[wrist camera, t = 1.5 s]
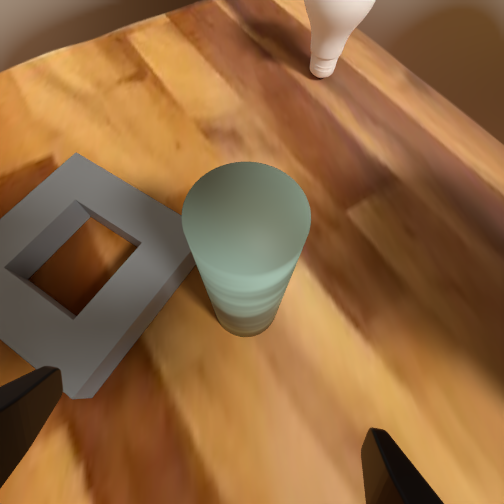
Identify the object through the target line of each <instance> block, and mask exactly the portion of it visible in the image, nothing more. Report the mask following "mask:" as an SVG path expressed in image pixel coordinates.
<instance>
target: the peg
mask: <svg viewBox="0 0 504 504" xmlns="http://www.w3.org/2000/svg"><path fill="white" fill-rule="evenodd" d="M310 225H311V212H310V206H309V203H308V200H307V198H306V195H305V194H304V192H303V190H302V189H301V188H300V186H299V185H298V184H297V183H296V182H295V181H294V180H293V179H292V178H291V177H290V176H288V175H287V174H286V173H284V172H282V171H281V170H279V169H277V168H274V167H272V166H269V165H266V164H262V163H256V162H236V163H230V164H226V165H223V166H220V167H218V168H215V169H213V170H211V171H210V172H208V173H206V174H205V175H204V176H202V177H201V178H200V179H199V180H198V181H197V182H196V183H195V184H194V185H193V187H192V188H191V189H190V191H189V193H188V194H187V196H186V199H185V201H184V204H183V208H182V227H183V231H184V234H185V237H186V239H187V242H188V244H189V247H190V249H191V252H192V254H193V257H194V260H195V262H196V265H197V267H198V270H199V272H200V275H201V278H202V280H203V283H204V285H205V288H206V290H207V293H208V295H209V298H210V301H211V303H212V306H213V308H214V311H215V313H216V316H217V319H218V321H219V322H220V324H221V325H222V327H223V328H224V329H225V330H227V331H228V332H230V333H231V334H234V335H236V336H240V337H251V336H255V335H258V334H260V333H262V332H263V331H265V330H266V329H267V328H268V327H269V326H270V325H271V323H272V322H273V320H274V318H275V315H276V313H277V310H278V308H279V305H280V303H281V300H282V298H283V295H284V293H285V290H286V288H287V285H288V283H289V281H290V278H291V276H292V273H293V271H294V268H295V266H296V263H297V261H298V258H299V256H300V253H301V251H302V248H303V246H304V244H305V241H306V239H307V236H308V233H309V230H310Z"/></svg>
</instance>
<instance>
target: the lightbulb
mask: <svg viewBox="0 0 504 504" xmlns="http://www.w3.org/2000/svg"><path fill="white" fill-rule="evenodd" d="M304 2H305V6H306V10H307V14H308V17H309V20H310V25H311V46H310V48H311V52H312V54H311V60H310V71H311V73H312V74H313V75H315V76H316V77H318V78H325V77H328V76H330V75H331V74H332V73H333V71H334V68H335V65H336V62H337V60H338V57H339V56H340V55H341V53H342V51H343V48H344V45H345V43H346V41H347V39H348V37H349V35H350V34H351V32H352V31H353V30H354V29H355V28H356V26H357V25H358V24H359V23H360V22H361V21H362V20H363V19H364V17H365V16H366V15H367V14H368V12H369V11H370V9H371V8H372V6H373V4H374V2H375V0H304Z"/></svg>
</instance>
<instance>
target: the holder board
mask: <svg viewBox="0 0 504 504" xmlns="http://www.w3.org/2000/svg"><path fill="white" fill-rule="evenodd" d="M90 217H92V218H94V219H95V220H97V221H98V222H100V223H101V224H103V225H104V226H106V227H107V228H109V229H110V230H112V231H113V232H115V233H117V234H118V235H120V236H121V237H123V238H124V239H126V240H127V241H129V242H130V243H132V244H133V245H135V246H137V247H138V248H137V249H136V250H135V251H134V252H133V253H132V255H131V256H130V257H129V258H128V259H127V260H126V261H125V262H124V264H123V265H122V266H121V267H120V268H119V269H118V270H117V272H116V273H115V274H114V275H113V276H112V277H111V278H110V279H109V281H108V282H107V283H106V284H105V285H104V286H103V287H102V289H101V290H100V291H99V292H98V293H97V294H96V295H95V296H94V298H93V299H92V300H91V301H90V302H89V303H88V304H87V305H86V307H85V308H84V309H83V310H82V311H81V312H80V313H79V315H78V316H76V315H74V314H73V313H72V312H70V311H69V310H68V309H66V308H65V307H64V306H62V305H61V304H60V303H58V302H57V301H56V300H54V299H53V298H52V297H50V296H49V295H48V294H46V293H45V292H44V291H42V290H41V289H40V288H38V287H37V286H36V285H34V284H33V283H32V282H30V281H29V280H28V279H29V278H30V277H31V276H32V275H33V274H34V273H35V272H36V271H37V270H38V269H39V268H40V267H41V266H42V265H43V264H44V263H45V262H46V261H47V260H48V259H49V258H50V257H51V256H52V255H53V254H54V253H55V252H56V251H57V250H58V249H59V248H60V247H61V246H62V245H63V244H64V243H65V242H66V241H67V240H68V239H69V238H70V237H71V236H72V235H73V234H74V233H75V232H76V231H77V230H78V229H79V228H80V227H81V226H82V225H83V224H84V223H85V222H86V221H87V220H88V219H89V218H90ZM195 265H196V262H195V260H194V257H193V254H192V252H191V249H190V247H189V244H188V242H187V239H186V237H185V234H184V231H183V227H182V216H181V215H180V214H178V213H176V212H175V211H173V210H171V209H170V208H168V207H166V206H165V205H163V204H161V203H160V202H158V201H156V200H155V199H153V198H151V197H150V196H148V195H146V194H145V193H143V192H141V191H140V190H138V189H136V188H135V187H133V186H131V185H130V184H128V183H126V182H125V181H123V180H121V179H120V178H118V177H116V176H115V175H113V174H111V173H110V172H108V171H106V170H105V169H103V168H101V167H100V166H98V165H96V164H95V163H93V162H91V161H90V160H88V159H86V158H85V157H83V156H81V155H80V154H78V153H75V154H74V155H73V156H71V157H70V158H69V159H68V160H67V161H66V162H65V163H63V164H62V165H61V166H60V167H59V168H58V169H57V170H55V171H54V172H53V173H52V174H51V175H50V176H49V177H48V178H46V179H45V180H44V181H43V182H42V183H41V184H40V185H38V186H37V187H36V188H35V189H34V190H33V191H32V192H30V193H29V194H28V195H27V196H26V197H25V198H24V199H23V200H21V201H20V202H19V203H18V204H17V205H16V206H15V207H13V208H12V209H11V210H10V211H9V212H8V213H7V214H5V215H4V216H3V217H2V218H1V219H0V339H1V340H2V341H3V342H4V343H5V344H7V345H8V346H9V347H10V348H11V349H13V350H14V351H15V352H16V353H17V354H19V355H20V356H21V357H22V358H23V359H25V360H26V361H27V362H28V363H30V364H31V365H32V366H33V367H34V368H36V369H39V368H41V367H43V366H52V367H57V368H59V369H60V370H61V375H62V384H63V392H64V393H66V394H67V395H68V396H69V397H70V398H72V399H82V398H92V397H93V396H94V395H95V394H96V392H97V391H98V390H99V388H100V387H101V386H102V385H103V383H104V382H105V381H106V379H107V378H108V377H109V376H110V374H111V373H112V372H113V370H114V369H115V368H116V367H117V365H118V364H119V363H120V361H121V360H122V359H123V357H124V356H125V355H126V354H127V352H128V351H129V350H130V348H131V347H132V346H133V345H134V343H135V342H136V341H137V339H138V338H139V337H140V336H141V334H142V333H143V332H144V330H145V329H146V328H147V327H148V325H149V324H150V323H151V321H152V320H153V319H154V318H155V316H156V315H157V314H158V312H159V311H160V310H161V309H162V307H163V306H164V305H165V303H166V302H167V301H168V300H169V298H170V297H171V296H172V294H173V293H174V292H175V291H176V289H177V288H178V287H179V285H180V284H181V283H182V282H183V280H184V279H185V278H186V276H187V275H188V274H189V273H190V271H191V270H192V269H193V267H194V266H195Z"/></svg>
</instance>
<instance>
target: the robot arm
mask: <svg viewBox="0 0 504 504" xmlns="http://www.w3.org/2000/svg"><path fill="white" fill-rule="evenodd" d="M62 392H63V384H62V375H61V370H60V369H59V368H57V367H52V366H43V367H41V368H39V369H37V370H34V371H32V372H30V373H28V374H26V375H24V376H22V377H20V378H18V379H16V380H14V381H12V382H9V383H7V384H5V385H3V386H1V387H0V488H1V487H2V486H3V484H4V483H5V481H6V480H7V479H8V477H9V476H10V475H11V473H12V472H13V471H14V469H15V468H16V466H17V465H18V464H19V462H20V461H21V460H22V458H23V457H24V455H25V454H26V453H27V451H28V450H29V448H30V447H31V445H32V443H33V442H34V440H35V439H36V437H37V435H38V434H39V432H40V430H41V429H42V427H43V425H44V424H45V422H46V421H47V419H48V417H49V416H50V414H51V412H52V411H53V409H54V407H55V406H56V404H57V403H58V401H59V399H60V397H61V395H62ZM361 460H362V469H363V479H364V489H365V498H366V504H444V503H443V502H442V501H441V499H440V498H439V497H438V495H437V494H436V493H435V492H434V490H433V489H432V488H431V487H430V485H429V484H428V483H427V482H426V480H425V479H424V478H423V477H422V475H421V474H420V473H419V472H418V470H417V469H416V468H415V467H414V465H413V464H412V463H411V461H410V460H409V459H408V458H407V456H406V455H405V454H404V453H403V451H402V450H401V449H400V448H399V446H398V445H397V444H396V443H395V441H394V440H393V439H392V438H391V436H390V435H389V434H388V433H387V432H386V431H385V430H383V429H378V428H373V427H372V428H370V429H369V430H368V432H367V435H366V437H365V440H364V443H363V445H362V449H361Z"/></svg>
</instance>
